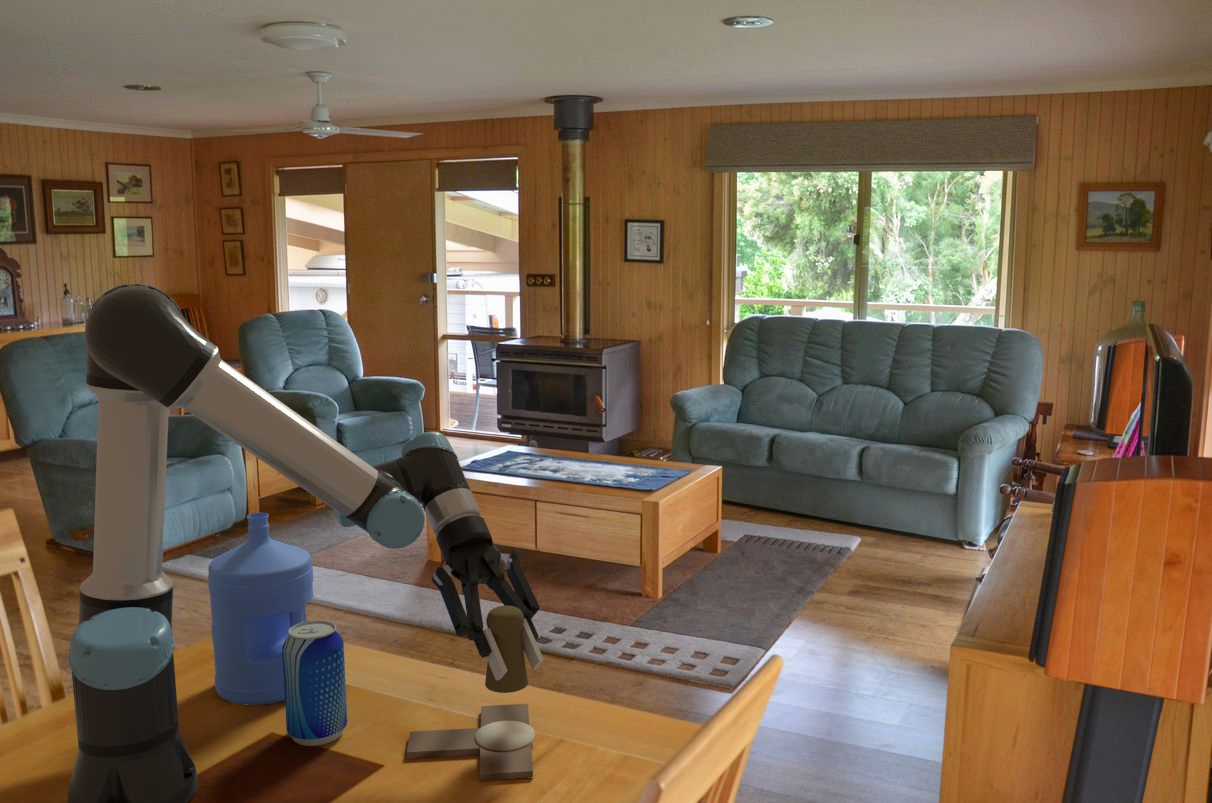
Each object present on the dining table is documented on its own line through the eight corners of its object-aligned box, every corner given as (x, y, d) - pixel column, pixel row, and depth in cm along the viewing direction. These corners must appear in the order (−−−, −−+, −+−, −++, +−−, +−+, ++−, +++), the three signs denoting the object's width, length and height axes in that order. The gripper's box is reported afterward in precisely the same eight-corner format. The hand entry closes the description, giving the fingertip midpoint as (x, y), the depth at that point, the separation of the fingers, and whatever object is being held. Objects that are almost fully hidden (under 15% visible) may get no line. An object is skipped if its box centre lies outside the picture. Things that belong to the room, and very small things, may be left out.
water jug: (193, 697, 162) (180, 523, 158) (262, 659, 176) (253, 498, 172) (273, 714, 156) (263, 534, 152) (338, 674, 170) (330, 508, 166)
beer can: (318, 716, 156) (313, 613, 153) (359, 729, 152) (355, 624, 149) (274, 739, 149) (268, 632, 146) (316, 754, 144) (311, 644, 142)
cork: (521, 694, 143) (519, 618, 141) (479, 690, 144) (477, 615, 142) (533, 676, 148) (531, 602, 147) (492, 672, 150) (490, 599, 148)
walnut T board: (402, 785, 136) (402, 776, 136) (413, 715, 156) (413, 707, 156) (538, 777, 138) (538, 768, 138) (532, 709, 158) (532, 701, 157)
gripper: (503, 529, 161) (564, 665, 150) (394, 551, 150) (452, 699, 140) (521, 503, 156) (585, 642, 145) (409, 524, 145) (470, 675, 135)
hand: (520, 669), depth 143 cm, fingers closed on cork, 5 cm apart
